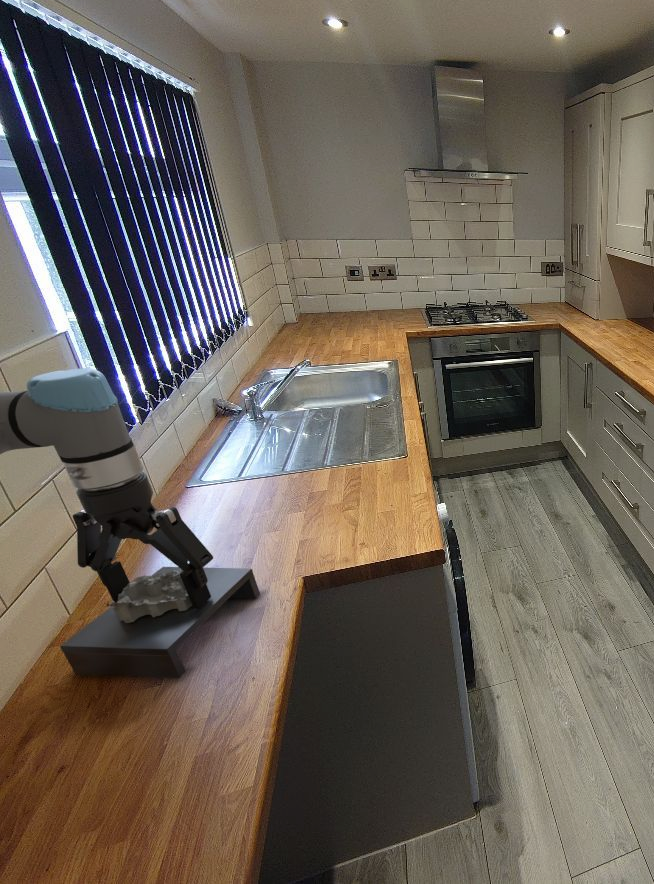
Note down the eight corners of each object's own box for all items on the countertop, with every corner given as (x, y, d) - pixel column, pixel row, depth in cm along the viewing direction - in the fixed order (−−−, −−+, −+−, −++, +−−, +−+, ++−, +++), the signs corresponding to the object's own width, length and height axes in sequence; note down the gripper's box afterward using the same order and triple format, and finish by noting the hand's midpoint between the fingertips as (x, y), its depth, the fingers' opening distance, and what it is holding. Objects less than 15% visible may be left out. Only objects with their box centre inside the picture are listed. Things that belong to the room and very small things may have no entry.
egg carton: (111, 628, 77) (100, 606, 76) (134, 595, 84) (124, 574, 82) (195, 610, 80) (186, 589, 79) (211, 580, 87) (203, 560, 85)
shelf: (75, 674, 76) (59, 646, 74) (173, 591, 93) (162, 566, 91) (179, 678, 76) (166, 649, 73) (260, 593, 92) (251, 568, 90)
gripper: (0, 491, 71) (67, 616, 79) (171, 494, 69) (220, 620, 78) (56, 466, 77) (112, 584, 86) (212, 468, 76) (254, 587, 85)
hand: (164, 601), depth 82 cm, fingers closed on egg carton, 12 cm apart
